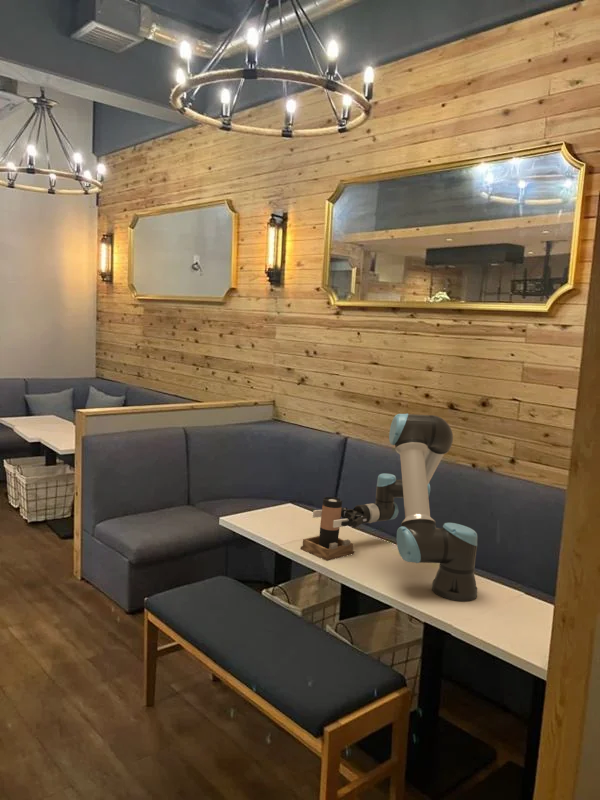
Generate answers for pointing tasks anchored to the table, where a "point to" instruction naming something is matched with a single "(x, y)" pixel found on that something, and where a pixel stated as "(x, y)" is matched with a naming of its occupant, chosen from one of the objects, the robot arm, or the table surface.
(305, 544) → the tray
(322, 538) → the travel mug
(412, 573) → the table surface
